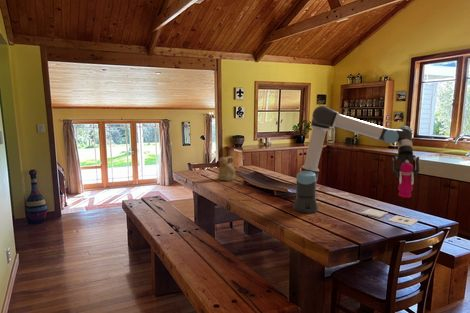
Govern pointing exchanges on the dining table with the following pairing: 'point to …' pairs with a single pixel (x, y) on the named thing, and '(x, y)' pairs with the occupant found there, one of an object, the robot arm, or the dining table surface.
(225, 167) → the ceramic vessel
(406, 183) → the pepper mill
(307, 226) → the dining table surface
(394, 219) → the tile
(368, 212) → the pad
